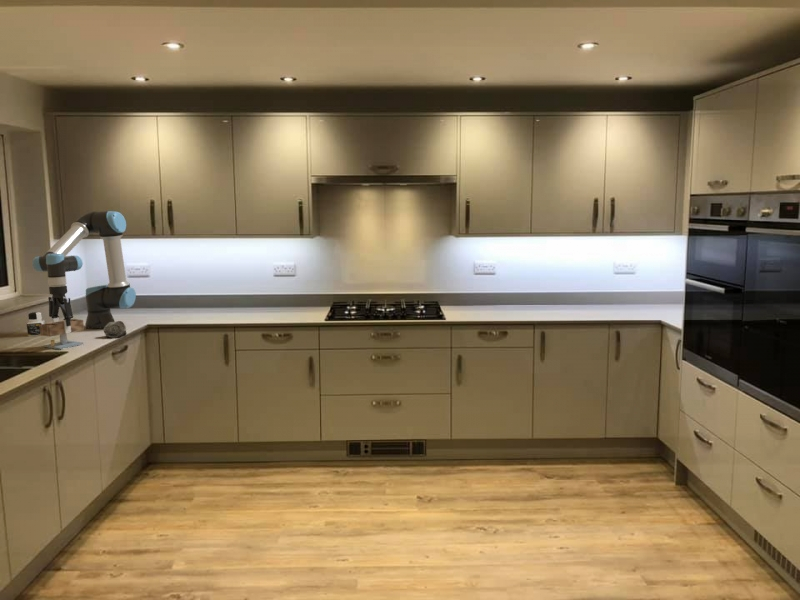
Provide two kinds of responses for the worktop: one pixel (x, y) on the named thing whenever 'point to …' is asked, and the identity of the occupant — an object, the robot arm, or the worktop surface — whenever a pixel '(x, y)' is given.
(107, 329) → the fossil
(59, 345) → the post block
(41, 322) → the medicine bottle
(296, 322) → the worktop surface
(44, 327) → the brown textured block
